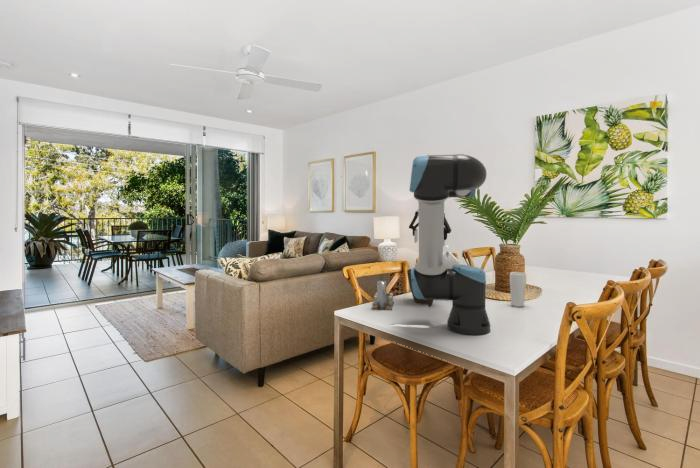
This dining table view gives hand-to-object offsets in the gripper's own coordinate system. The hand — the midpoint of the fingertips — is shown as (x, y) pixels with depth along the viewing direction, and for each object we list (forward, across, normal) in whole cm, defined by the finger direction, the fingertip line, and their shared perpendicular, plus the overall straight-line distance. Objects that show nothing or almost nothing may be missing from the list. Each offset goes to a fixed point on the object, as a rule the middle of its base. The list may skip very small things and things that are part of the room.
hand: (429, 243), depth 180 cm
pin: (+16, +10, +38) cm, 42 cm away
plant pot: (+22, -3, +20) cm, 30 cm away
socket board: (+19, +11, +34) cm, 40 cm away
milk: (+27, -10, +3) cm, 29 cm away
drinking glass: (+23, -42, +4) cm, 48 cm away
